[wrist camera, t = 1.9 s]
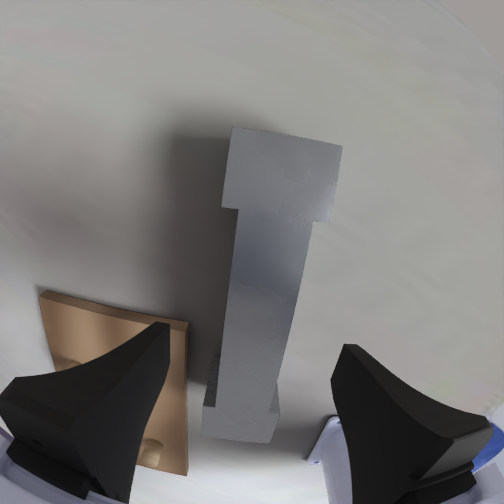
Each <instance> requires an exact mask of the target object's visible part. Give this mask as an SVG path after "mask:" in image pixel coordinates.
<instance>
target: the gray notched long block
mask: <svg viewBox="0 0 504 504" xmlns="http://www.w3.org/2000/svg"><path fill="white" fill-rule="evenodd" d="M341 153H342V146H340V145H335V144H331V143H326V142H322V141H317V140H312V139H307V138H302V137H296V136H290V135H285V134H279V133H272V132H266V131H259V130H252V129H244V128H235V127H232V132H231V139H230V146H229V153H228V160H227V167H226V174H225V182H224V189H223V197H222V205H221V207H225V208H233V209H239V212H238V219H237V226H236V234H235V242H234V249H233V257H232V265H231V273H230V281H229V289H228V297H227V306H226V314H225V323H224V331H223V340H222V349H221V357H220V356H213V359H212V364H211V369H210V374H209V379H208V383H207V388H206V393H205V398H204V403H203V415H202V435H201V436H203V437H210V438H217V439H225V440H233V441H243V442H255V443H270V442H271V439H272V436H273V433H274V430H275V427H276V424H277V421H278V418H279V415H280V410H279V398H278V387H277V379H278V375H279V371H280V368H281V364H282V360H283V356H284V352H285V348H286V344H287V340H288V336H289V332H290V328H291V323H292V319H293V315H294V311H295V306H296V302H297V297H298V293H299V288H300V284H301V279H302V274H303V270H304V265H305V260H306V255H307V250H308V245H309V240H310V235H311V229H312V224H313V221H319V222H325V223H330V218H331V213H332V208H333V202H334V197H335V191H336V185H337V179H338V173H339V167H340V160H341Z"/></svg>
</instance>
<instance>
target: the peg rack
mask: <svg viewBox="0 0 504 504" xmlns="http://www.w3.org/2000/svg"><path fill="white" fill-rule="evenodd" d="M38 297H39V303H40V309H41V314H42V319H43V323H44V328H45V332H46V336H47V340H48V344H49V348H50V352H51V355H52V359H53V362H54V366H55V369H56V372H57V371H62V370H65V369H69V368H72V367H75V366H78V365H81V364H83V363H86V362H89V361H91V360H93V359H95V358H98V357H100V356H102V355H104V354H106V353H108V352H110V351H111V350H113V349H115V348H116V347H118V346H120V345H121V344H123V343H125V342H126V341H128V340H129V339H131V338H132V337H134V336H135V335H137V334H138V333H140V332H141V331H143V330H144V329H145V328H147V327H148V326H150V325H151V324H153V323H154V322H156V321H158V322H164V323H169V324H170V366H169V370H168V373H167V377H166V380H165V383H164V385H163V388H162V390H161V392H160V395H159V397H158V399H157V402H156V404H155V406H154V408H153V411H152V413H151V415H150V418H149V420H148V423H147V425H146V428H145V431H144V435H143V438H142V442H141V446H140V450H139V454H138V458H137V462H136V465H140V466H144V467H147V468H151V469H155V470H159V471H164V472H168V473H173V474H178V475H183V476H187V472H188V442H187V370H188V338H189V322H184V321H179V320H173V319H168V318H162V317H157V316H152V315H147V314H142V313H137V312H132V311H128V310H123V309H118V308H114V307H110V306H105V305H101V304H97V303H93V302H89V301H85V300H81V299H77V298H73V297H69V296H66V295H62V294H58V293H55V292H51V291H48V290H46V291H45V292H44V293H42V294H41V295H39V296H38Z"/></svg>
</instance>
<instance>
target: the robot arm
mask: <svg viewBox="0 0 504 504" xmlns="http://www.w3.org/2000/svg"><path fill="white" fill-rule="evenodd" d="M169 366H170V324H169V323H164V322H158V321H156V322H154V323H153V324H151V325H150V326H148V327H147V328H145V329H144V330H143V331H141V332H140V333H138V334H137V335H135V336H134V337H132V338H131V339H129V340H128V341H126V342H125V343H123V344H121V345H120V346H118V347H116V348H115V349H113V350H111V351H110V352H108V353H106V354H104V355H102V356H100V357H98V358H95V359H93V360H91V361H89V362H86V363H83V364H81V365H78V366H75V367H72V368H69V369H65V370H62V371H57V372H53V373H48V374H43V375H35V376H25V377H15V378H14V379H13V380H12V382H11V383H10V384H9V385H8V386H7V387H6V388H5V390H4V391H3V392H2V393H1V394H0V416H1V417H2V419H3V421H4V422H5V424H6V426H7V427H8V429H9V430H10V432H11V433H12V435H13V436H14V438H15V439H14V440H13V442H12V443H10V442H9V441H8V440H7V439H6V438H4V437H3V436H2V435H0V504H129V498H130V492H131V486H132V481H133V476H134V471H135V466H136V462H137V458H138V454H139V450H140V446H141V442H142V438H143V435H144V431H145V428H146V425H147V423H148V420H149V418H150V415H151V413H152V411H153V408H154V406H155V404H156V402H157V399H158V397H159V395H160V392H161V390H162V388H163V385H164V383H165V380H166V377H167V373H168V370H169ZM331 388H332V394H333V400H334V403H335V407H336V410H337V413H338V416H337V417H331V418H330V419H329V420H328V422H327V424H326V426H325V428H324V430H323V432H322V434H321V435H320V437H319V439H318V441H317V443H316V445H315V447H314V448H313V450H312V452H311V454H310V456H309V457H308V459H307V464H309V465H315V464H322V466H323V472H324V477H325V482H326V488H327V493H328V499H329V504H504V477H503V475H502V473H501V472H500V470H499V468H498V467H497V465H496V463H493V464H491V465H489V466H487V467H485V468H483V469H481V470H480V471H478V472H476V473H475V474H474V475H473V474H472V472H471V470H472V469H473V468H474V464H473V462H472V460H473V459H474V458H475V457H476V456H477V455H478V453H479V452H480V451H481V450H482V449H483V448H484V447H485V446H486V444H487V443H488V442H489V440H490V439H491V437H492V435H493V431H494V429H493V427H492V425H491V424H490V423H489V421H488V420H487V418H486V417H485V416H481V415H477V414H472V413H468V412H464V411H461V410H458V409H455V408H452V407H449V406H447V405H444V404H442V403H440V402H438V401H436V400H434V399H431V398H429V397H428V396H426V395H424V394H422V393H420V392H419V391H417V390H415V389H414V388H412V387H411V386H409V385H408V384H406V383H405V382H403V381H402V380H401V379H399V378H398V377H397V376H395V375H394V374H393V373H391V372H390V371H389V370H388V369H386V368H385V367H384V366H383V365H382V364H380V363H379V362H378V361H377V360H376V359H374V358H373V357H372V356H371V355H370V354H368V353H367V352H366V351H365V350H364V349H362V348H361V347H360V346H358V345H357V344H344V345H343V348H342V351H341V353H340V356H339V359H338V361H337V364H336V367H335V369H334V372H333V374H332V377H331Z"/></svg>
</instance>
